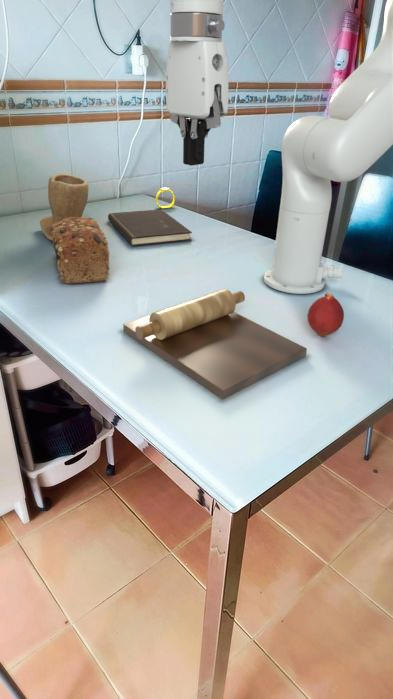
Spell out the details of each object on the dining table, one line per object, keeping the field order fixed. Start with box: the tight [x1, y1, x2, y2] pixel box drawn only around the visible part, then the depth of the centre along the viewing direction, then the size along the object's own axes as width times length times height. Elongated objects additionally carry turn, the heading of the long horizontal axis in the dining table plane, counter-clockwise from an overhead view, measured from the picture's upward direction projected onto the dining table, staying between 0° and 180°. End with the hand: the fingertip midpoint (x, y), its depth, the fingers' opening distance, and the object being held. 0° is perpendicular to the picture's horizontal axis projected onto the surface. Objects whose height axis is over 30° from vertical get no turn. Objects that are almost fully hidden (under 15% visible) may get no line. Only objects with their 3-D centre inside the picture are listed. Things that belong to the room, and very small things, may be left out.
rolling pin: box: [135, 288, 246, 340], centre depth 78 cm, size 22×4×4 cm, turn 131°
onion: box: [306, 292, 345, 338], centre depth 79 cm, size 6×6×8 cm
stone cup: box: [39, 173, 89, 242], centre depth 119 cm, size 15×12×15 cm
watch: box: [155, 187, 176, 210], centre depth 148 cm, size 6×3×6 cm, turn 109°
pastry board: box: [122, 311, 308, 400], centre depth 77 cm, size 18×24×2 cm
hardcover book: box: [107, 208, 192, 247], centre depth 128 cm, size 16×23×2 cm
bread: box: [50, 216, 110, 285], centre depth 101 cm, size 19×11×10 cm, turn 17°
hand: (193, 163), depth 79 cm, fingers closed
